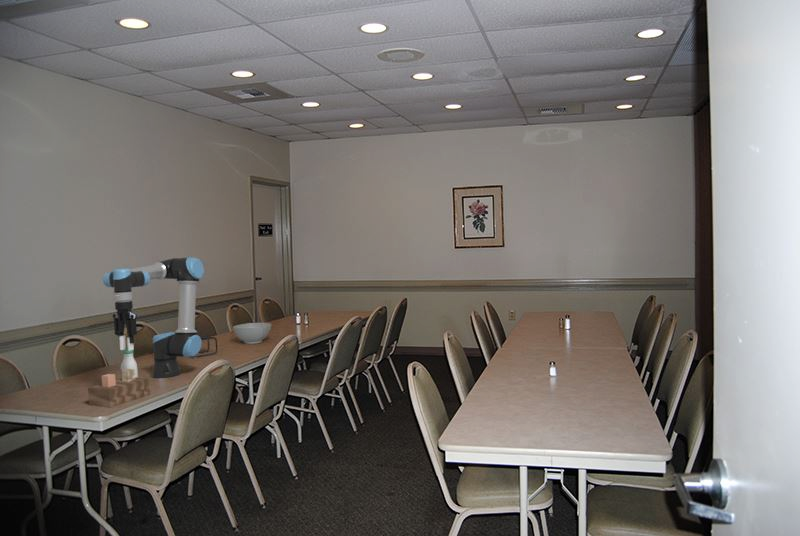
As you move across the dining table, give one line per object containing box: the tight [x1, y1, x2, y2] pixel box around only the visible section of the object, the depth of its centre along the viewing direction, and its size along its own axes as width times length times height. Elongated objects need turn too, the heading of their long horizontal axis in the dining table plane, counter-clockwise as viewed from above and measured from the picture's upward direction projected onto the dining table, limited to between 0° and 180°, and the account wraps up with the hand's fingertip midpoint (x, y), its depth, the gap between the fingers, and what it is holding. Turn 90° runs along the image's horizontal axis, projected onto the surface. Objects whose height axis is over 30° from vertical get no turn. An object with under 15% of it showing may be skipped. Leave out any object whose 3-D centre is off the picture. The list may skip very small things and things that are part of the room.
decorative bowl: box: [232, 322, 272, 345], centre depth 424 cm, size 27×27×12 cm
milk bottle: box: [120, 349, 139, 379], centre depth 297 cm, size 8×8×20 cm
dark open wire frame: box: [190, 324, 219, 359], centre depth 382 cm, size 13×17×22 cm
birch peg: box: [122, 369, 135, 382], centre depth 283 cm, size 4×4×8 cm
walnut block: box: [87, 376, 151, 409], centre depth 279 cm, size 22×14×8 cm, turn 155°
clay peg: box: [101, 373, 117, 387], centre depth 273 cm, size 4×4×8 cm
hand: (126, 349), depth 283 cm, fingers open, 4 cm apart
